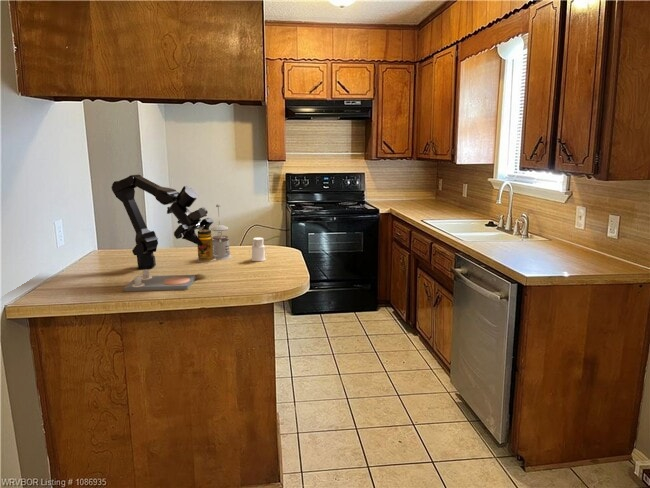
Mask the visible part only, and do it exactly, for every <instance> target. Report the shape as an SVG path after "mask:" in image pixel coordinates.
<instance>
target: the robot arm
mask: <svg viewBox="0 0 650 488" xmlns="http://www.w3.org/2000/svg"><path fill="white" fill-rule="evenodd" d="M136 188H139V189H140V190H142V191H144V192H146V193H148V194H150V195H152V196H153V197H154V198H155V200H156V201H157V202H159V203H160V204H161V205H164V206H166V205H170V206H168V207H167V210H166V214H172V215H174V217H175V218H176V219H177V221H176V222H177V224H179V226H178V227H176V229H175V230H174V232H173V236H174V237H175V239H176V240H178V239H182V240H186V241H189V242H191V243H192V244H195V245H199V246H202V245H203V244H202V242H201V241H200V239H199V238H198V234H196V231H195V230H197V231H199V230H210V227H211V226H212V224H214V220H213V219H212V218H211V217H207V216H208V210H207V209H206V207H204V206H202V207H200V208H198V209H196V210H192V211H190V209H188V208H191V206H192V205H193V204H194V203H195V202H196V200H197V198H199V193H198V192H197V191H196V190H195V189H193V188H191V187H189V186H188V185H184V186H183V187H182V188H181V190H180V191H179V192H178V190H176V189H175V188H170V187H165V186H161V185H159V184H156V183H155V182H153V181H151V180H149V179H148V178H145V177H143V176H142V175H140V174H139V173H137V174H130V175H129V176H127V177H125V178H123V179H120V180H115V181H114V182H112V184H111V191H112V192H113V195H114V196H115V198H117V199H118V200H119V201H120V202H121V203H122V204H123V206H124V209H125V211H126V213H127V215H128V218H129V221H130V222H131V225H132V227H133V230H134V232H135V239H134V240H135V246H134V247H133V249H132V254H133V256H136V259H137V261H136V262H137V266H136V270H149V269H150V270H151V269H153V268H154V267H155V266H156V265H157V264H156V263H157V261H156V256H155V254H154V253H155V252H157V248H158V245H159V241H158V240H159V238H158V236H157V234H156V232H155V231H154V230H150V229H148V227H147V224H146V222H145V220H144V217H143V216H142V213H141V211H140V208H139V205H138V204H137V201H136V200H135V196H136V195H135V193H136V191H135V190H136ZM205 217H207V218H205ZM202 218H203V219H202Z"/></svg>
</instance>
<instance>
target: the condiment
mask: <svg viewBox="0 0 650 488" xmlns="http://www.w3.org/2000/svg"><path fill="white" fill-rule="evenodd" d="M197 237H198V238H199V239H200V241H201V242H202V244H203V245H202V246H199V245H197V244H196V245H197V246H196V247H197V256H195V259H196V260H197V263H200V262H201V263H202V262H213V261H217V260H216V258H215V257H214V255H213V252H214V251H213V240H214V239H213V236H212V230H211V229H209V230H197Z"/></svg>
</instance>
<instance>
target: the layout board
mask: <svg viewBox="0 0 650 488" xmlns="http://www.w3.org/2000/svg"><path fill="white" fill-rule="evenodd" d="M141 270H142V271H141V273H142V274H141V276H140V275H139V276H134V278H133V279H132V280H131V281H130V282H129V283H127V285H125V286H124V292H143V291H144V292H149V291H152V292H153V291H181V290H182V291H184V290H185V291H186V290H189V288H190V287H191V286H192V284H193V283H195V281H196V279H197V275H196V274H181V275H180V274H178V275H176V274H175V275H172V274H171V275H150V270H149V269H141Z"/></svg>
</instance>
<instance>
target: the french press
mask: <svg viewBox="0 0 650 488" xmlns="http://www.w3.org/2000/svg"><path fill="white" fill-rule="evenodd" d="M215 207H216V208H217V211H218V212H217V213H218V216H220V210H219V208H221V205H220V204H219V203H218V204H216V206H215ZM210 230H211V232H212V231H213V232H217V235H215V236H212V239H213V255H214V257H215V258H216V260H215V261H222V260H224V261H225V260H229V259H232V258H233V255H231V251H230V250H231V249H230V248H231V247H230V239H228V238H229V236H228V235H223V233H222V232H224V231H225V232H226V231H228V230H229V227H228V226H227V225H223V224H220V222H218V224H217V225H214V226H212V227H211V228H210Z"/></svg>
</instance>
